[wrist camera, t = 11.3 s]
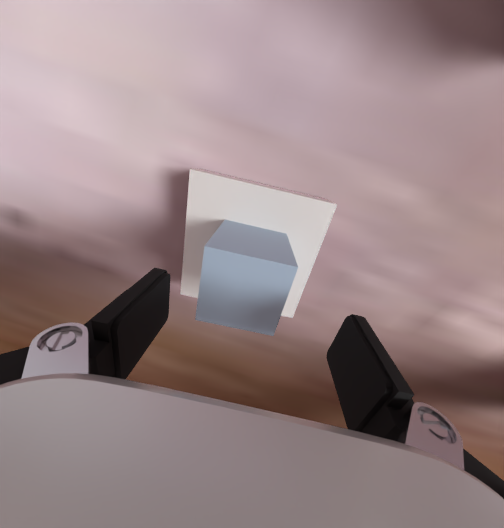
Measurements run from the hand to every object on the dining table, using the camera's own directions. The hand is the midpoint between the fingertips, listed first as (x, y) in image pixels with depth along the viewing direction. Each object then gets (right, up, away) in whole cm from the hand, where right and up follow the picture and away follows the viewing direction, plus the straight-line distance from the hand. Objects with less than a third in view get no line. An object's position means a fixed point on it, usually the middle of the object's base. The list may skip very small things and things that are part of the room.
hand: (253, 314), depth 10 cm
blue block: (0, +3, +6) cm, 7 cm away
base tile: (0, +5, +9) cm, 10 cm away
